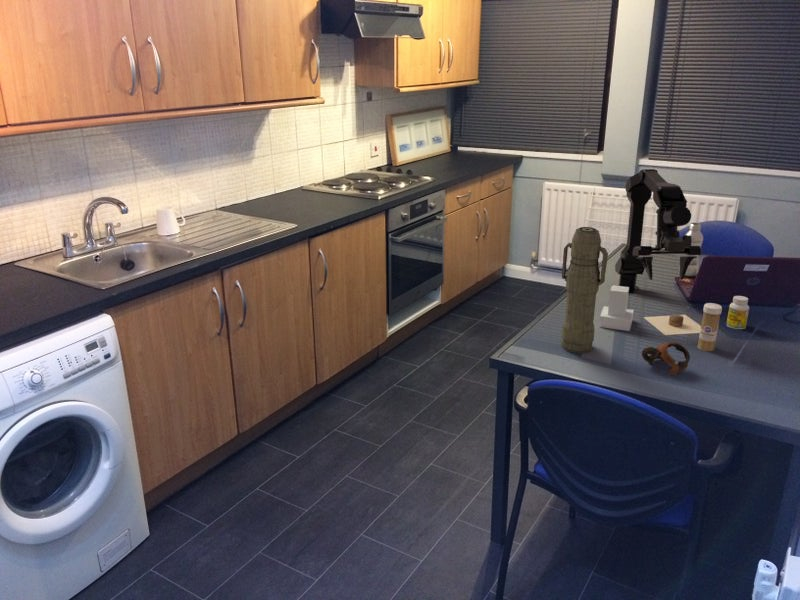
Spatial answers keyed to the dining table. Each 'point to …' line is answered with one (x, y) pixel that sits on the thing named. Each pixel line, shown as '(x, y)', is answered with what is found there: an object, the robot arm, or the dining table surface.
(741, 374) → the dining table surface
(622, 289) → the cover
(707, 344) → the sprinkles bottle
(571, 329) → the thermos
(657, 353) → the pottery mug
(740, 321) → the supplement bottle
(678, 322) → the puck
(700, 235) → the plastic bottle
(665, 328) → the mat
